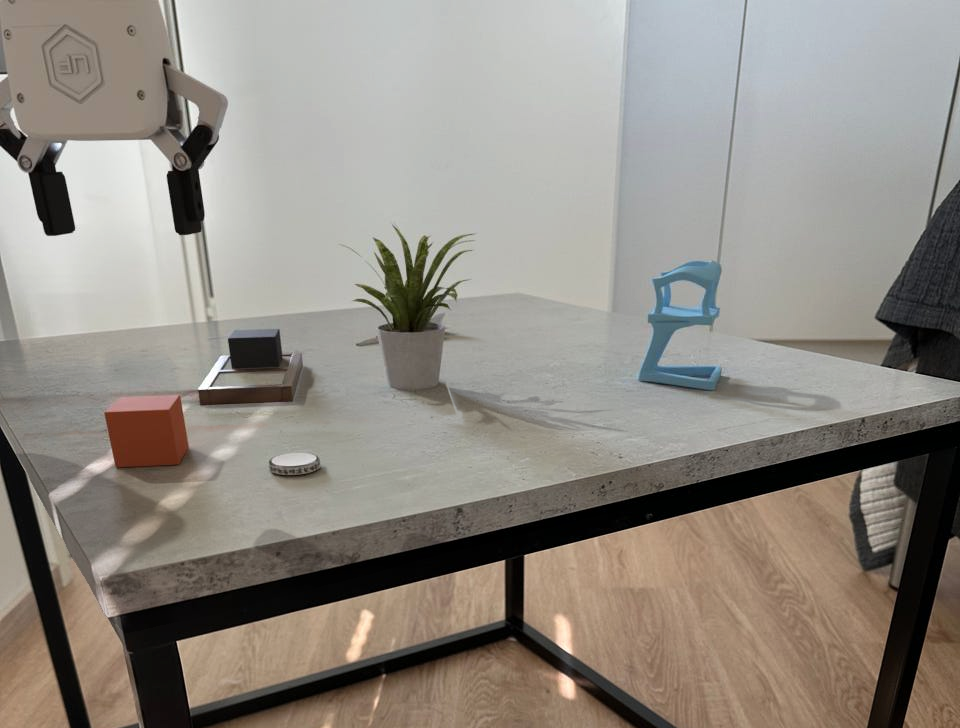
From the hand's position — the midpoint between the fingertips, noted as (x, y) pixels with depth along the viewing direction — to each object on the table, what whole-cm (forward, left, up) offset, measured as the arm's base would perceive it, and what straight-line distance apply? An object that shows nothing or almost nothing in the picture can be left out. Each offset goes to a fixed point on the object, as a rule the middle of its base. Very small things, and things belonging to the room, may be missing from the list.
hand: (124, 233), depth 66 cm
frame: (+4, +27, -17) cm, 33 cm away
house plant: (+22, +24, -18) cm, 37 cm away
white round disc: (+10, -2, -17) cm, 20 cm away
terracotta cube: (-2, +3, -17) cm, 18 cm away
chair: (+49, +23, -18) cm, 57 cm away
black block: (+4, +31, -17) cm, 36 cm away
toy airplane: (+22, +54, -18) cm, 61 cm away
